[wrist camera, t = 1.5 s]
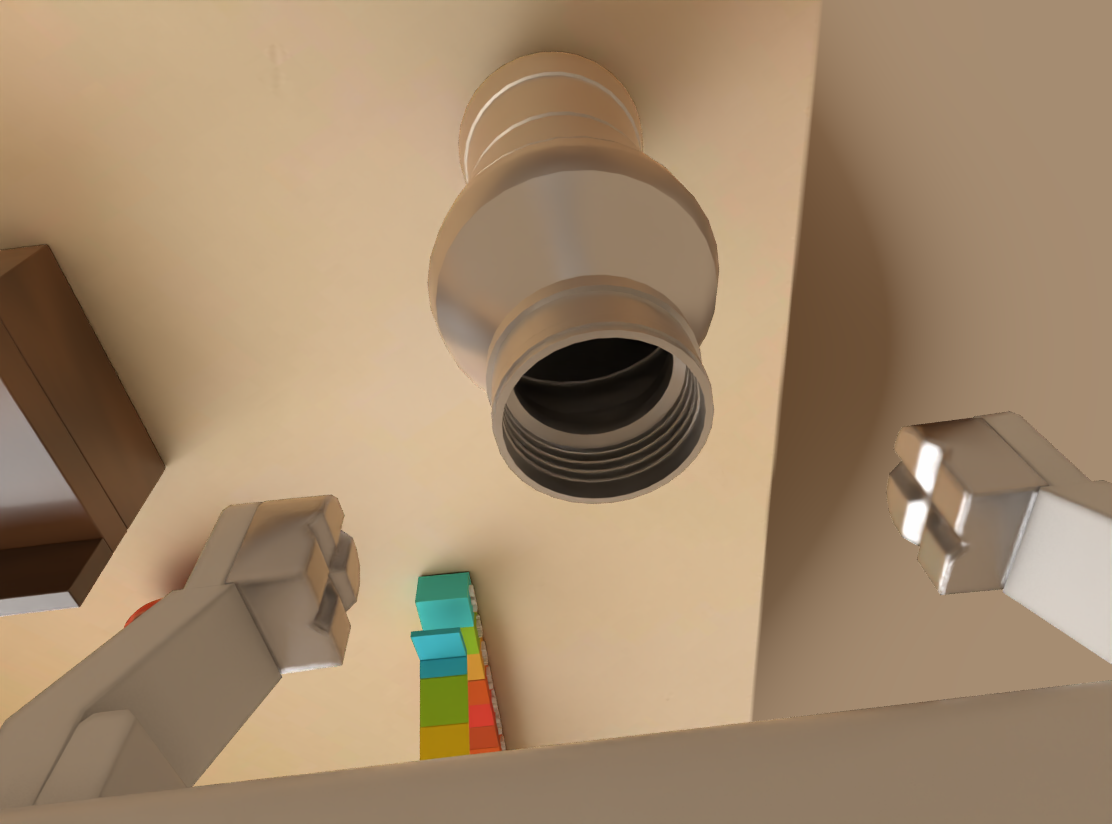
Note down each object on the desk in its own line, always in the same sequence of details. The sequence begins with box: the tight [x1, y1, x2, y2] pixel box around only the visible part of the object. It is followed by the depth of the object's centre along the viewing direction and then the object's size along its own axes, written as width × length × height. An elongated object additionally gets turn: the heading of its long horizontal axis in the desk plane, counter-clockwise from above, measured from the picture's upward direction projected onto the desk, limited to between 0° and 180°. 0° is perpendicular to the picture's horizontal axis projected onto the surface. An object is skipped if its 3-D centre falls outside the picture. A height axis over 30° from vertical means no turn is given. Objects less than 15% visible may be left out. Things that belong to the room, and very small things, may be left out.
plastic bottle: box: [428, 51, 719, 504], centre depth 20 cm, size 6×7×20 cm
